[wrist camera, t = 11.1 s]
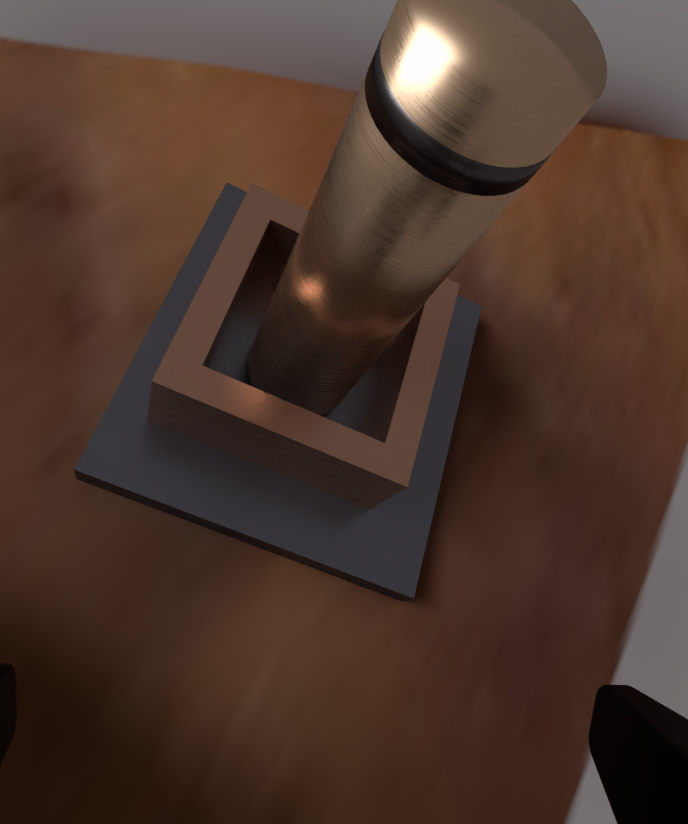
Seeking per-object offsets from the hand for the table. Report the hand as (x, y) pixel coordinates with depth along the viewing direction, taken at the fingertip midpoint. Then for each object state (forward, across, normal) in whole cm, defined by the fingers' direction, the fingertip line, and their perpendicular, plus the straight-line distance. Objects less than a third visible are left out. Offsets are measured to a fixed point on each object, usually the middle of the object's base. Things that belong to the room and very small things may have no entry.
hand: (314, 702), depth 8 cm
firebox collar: (+14, +1, -2) cm, 15 cm away
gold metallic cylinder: (+14, 0, -3) cm, 14 cm away
